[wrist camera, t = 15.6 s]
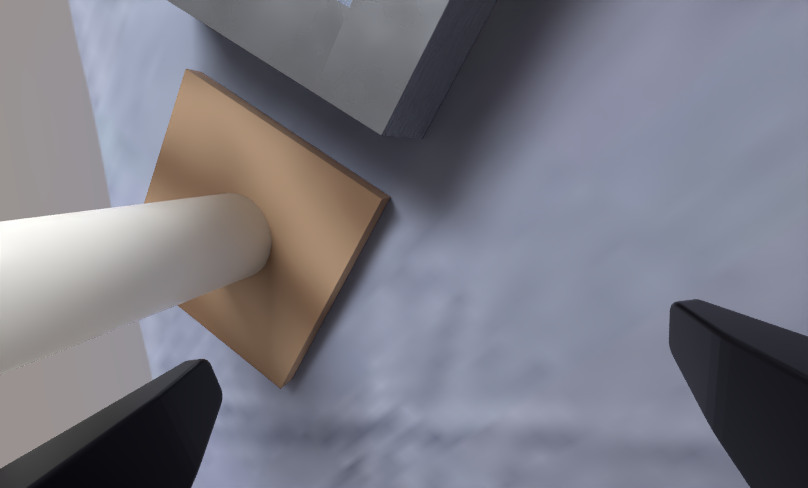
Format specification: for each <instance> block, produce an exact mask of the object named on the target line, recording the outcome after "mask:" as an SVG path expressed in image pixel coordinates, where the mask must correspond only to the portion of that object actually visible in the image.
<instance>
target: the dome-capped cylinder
mask: <svg viewBox="0 0 808 488" xmlns="http://www.w3.org/2000/svg"><path fill="white" fill-rule="evenodd" d="M270 251H271V233H270V229H269V225H268V223H267V220H266V218H265V216H264V214H263V213H262V211H261V210H260V209H259V207H258V206H257V205H256V204H255V203H254V202H253V201H251V200H250V199H249V198H247V197H245V196H243V195H240V194H236V193H225V194H217V195H209V196H201V197H193V198H185V199H177V200H169V201H161V202H153V203H145V204H137V205H129V206H121V207H113V208H106V209H98V210H90V211H82V212H74V213H66V214H58V215H50V216H43V217H34V218H26V219H19V220H10V221H2V222H0V375H1V374H4V373H6V372H9V371H11V370H14V369H17V368H19V367H22V366H24V365H27V364H29V363H32V362H34V361H37V360H39V359H42V358H44V357H47V356H49V355H52V354H55V353H57V352H60V351H62V350H65V349H67V348H70V347H72V346H75V345H77V344H80V343H82V342H85V341H87V340H90V339H92V338H95V337H98V336H100V335H103V334H105V333H108V332H110V331H113V330H115V329H118V328H120V327H123V326H125V325H128V324H131V323H133V322H135V321H138V320H141V319H143V318H146V317H148V316H151V315H153V314H156V313H158V312H161V311H163V310H166V309H168V308H171V307H174V306H176V305H179V304H181V303H184V302H186V301H189V300H191V299H194V298H196V297H199V296H201V295H204V294H206V293H209V292H211V291H214V290H217V289H219V288H222V287H224V286H227V285H229V284H232V283H234V282H237V281H239V280H242V279H244V278H247V277H249V276H252V275H254V274H256V273H258V272H259V271H260V270H261V269H262V268H263V267H264V265H265V264H266V262H267V260H268V258H269V255H270Z"/></svg>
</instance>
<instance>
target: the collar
mask: <svg viewBox="0 0 808 488" xmlns="http://www.w3.org/2000/svg"><path fill="white" fill-rule="evenodd" d="M168 1H169V2H171V3H172V4H174V5H175V6H177V7H179V8H180V9H182V10H183V11H185V12H187V13H188V14H190V15H191V16H193V17H194V18H196V19H198V20H199V21H201V22H202V23H204V24H206V25H207V26H209V27H210V28H212V29H213V30H215V31H217V32H218V33H220V34H221V35H223V36H225V37H226V38H228V39H229V40H231V41H232V42H234V43H236V44H237V45H239V46H240V47H242V48H244V49H245V50H247V51H248V52H250V53H251V54H253V55H255V56H256V57H258V58H259V59H261V60H263V61H264V62H266V63H267V64H269V65H271V66H272V67H274V68H275V69H277V70H278V71H280V72H282V73H283V74H285V75H286V76H288V77H290V78H291V79H293V80H294V81H296V82H297V83H299V84H301V85H302V86H304V87H305V88H307V89H309V90H310V91H312V92H313V93H315V94H316V95H318V96H320V97H321V98H323V99H324V100H326V101H328V102H329V103H331V104H332V105H334V106H335V107H337V108H339V109H340V110H342V111H343V112H345V113H347V114H348V115H350V116H351V117H353V118H354V119H356V120H358V121H359V122H361V123H362V124H364V125H366V126H367V127H369V128H370V129H372V130H374V131H375V132H377V133H378V134H380V135H382V136H395V137H407V138H420V139H422V138H423V136H424V134H425V132H426V130H427V129H428V127H429V125H430V123H431V121H432V119H433V118H434V116H435V114H436V112H437V110H438V108H439V106H440V105H441V103H442V101H443V99H444V97H445V95H446V94H447V92H448V90H449V88H450V86H451V84H452V82H453V81H454V79H455V77H456V75H457V73H458V71H459V70H460V68H461V66H462V64H463V62H464V60H465V58H466V57H467V55H468V53H469V51H470V49H471V47H472V46H473V44H474V42H475V40H476V38H477V36H478V34H479V33H480V31H481V29H482V27H483V25H484V23H485V22H486V20H487V18H488V16H489V14H490V12H491V10H492V9H493V7H494V5H495V3H496V1H497V0H353V1H352V3H351V6H350V8H349V7H347V6H345V5H343V4H342V3H340V2H338V1H336V0H168Z"/></svg>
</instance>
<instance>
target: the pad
mask: <svg viewBox="0 0 808 488" xmlns="http://www.w3.org/2000/svg"><path fill="white" fill-rule="evenodd" d="M225 193H236V194H240V195H243V196H245V197H247V198H249V199H250V200H251V201H253V202H254V203H255V204H256V205H257V206H258V207H259V209H260V210H261V211H262V213H263V214H264V216H265V218H266V220H267V223H268V225H269V229H270V233H271V251H270V255H269V258H268V260H267V262H266V264H265V265H264V267H263V268H262V269H261V270H260V271H259V272H258V273H256V274H254V275H252V276H249V277H247V278H244V279H242V280H239V281H237V282H234V283H232V284H229V285H227V286H224V287H222V288H219V289H217V290H214V291H211V292H209V293H206V294H204V295H201V296H199V297H196V298H194V299H191V300H189V301H186V302H184V303H181V304H179V305H178V306H179V307H180V308H182V309H183V310H184V311H185V312H187V313H188V314H189V315H190V316H192V317H193V318H194V319H195V320H196V321H198V322H199V323H200V324H201V325H203V326H204V327H205V328H206V329H208V330H209V331H210V332H211V333H213V334H214V335H215V336H216V337H217V338H219V339H220V340H221V341H222V342H224V343H225V344H226V345H227V346H229V347H230V348H231V349H232V350H233V351H235V352H236V353H237V354H238V355H240V356H241V357H242V358H243V359H245V360H246V361H247V362H248V363H249V364H251V365H252V366H253V367H254V368H256V369H257V370H258V371H259V372H261V373H262V374H263V375H264V376H265V377H267V378H268V379H269V380H270V381H272V382H273V383H274V384H275V385H277V386H278V387H279V388H280V389H281V388H282V387H283V386H285V385H286V384H287V383H288V382H289V381H291V380H292V378H293V376H294V374H295V372H296V371H297V369H298V367H299V365H300V363H301V361H302V359H303V358H304V356H305V354H306V352H307V350H308V348H309V347H310V345H311V343H312V341H313V339H314V337H315V335H316V334H317V332H318V330H319V328H320V326H321V324H322V323H323V321H324V319H325V317H326V315H327V313H328V311H329V310H330V308H331V306H332V304H333V302H334V300H335V299H336V297H337V295H338V293H339V291H340V289H341V287H342V286H343V284H344V282H345V280H346V278H347V276H348V275H349V273H350V271H351V269H352V267H353V265H354V263H355V262H356V260H357V258H358V256H359V254H360V252H361V251H362V249H363V247H364V245H365V243H366V241H367V239H368V238H369V236H370V234H371V232H372V230H373V228H374V227H375V225H376V223H377V221H378V219H379V217H380V215H381V214H382V212H383V210H384V208H385V206H386V204H387V203H388V201H389V199H390V196H388V195H387V194H385V193H384V192H382V191H381V190H379V189H378V188H376V187H375V186H373V185H372V184H370V183H369V182H367V181H366V180H364V179H362V178H361V177H359V176H358V175H356V174H355V173H353V172H352V171H350V170H349V169H347V168H346V167H344V166H343V165H341V164H340V163H338V162H337V161H335V160H334V159H332V158H331V157H329V156H328V155H326V154H325V153H323V152H322V151H320V150H319V149H317V148H316V147H314V146H313V145H311V144H310V143H308V142H307V141H305V140H303V139H302V138H300V137H299V136H297V135H296V134H294V133H293V132H291V131H290V130H288V129H287V128H285V127H284V126H282V125H281V124H279V123H278V122H276V121H275V120H273V119H272V118H270V117H269V116H267V115H266V114H264V113H263V112H261V111H260V110H258V109H257V108H255V107H254V106H252V105H251V104H249V103H248V102H246V101H244V100H243V99H241V98H240V97H238V96H237V95H235V94H234V93H232V92H231V91H229V90H228V89H226V88H225V87H223V86H222V85H220V84H219V83H217V82H216V81H214V80H213V79H211V78H210V77H208V76H207V75H205V74H204V73H202V72H199V71H194V70H189V69H186V70H185V73H184V76H183V80H182V83H181V86H180V89H179V92H178V96H177V99H176V102H175V105H174V109H173V112H172V115H171V118H170V122H169V125H168V128H167V131H166V134H165V138H164V141H163V144H162V147H161V151H160V154H159V157H158V160H157V163H156V167H155V170H154V173H153V176H152V180H151V183H150V186H149V189H148V193H147V196H146V199H145V202H144V204H145V203H153V202H161V201H169V200H177V199H185V198H193V197H201V196H209V195H217V194H225Z"/></svg>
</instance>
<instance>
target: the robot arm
mask: <svg viewBox="0 0 808 488" xmlns="http://www.w3.org/2000/svg"><path fill="white" fill-rule="evenodd" d="M669 346H670V350H671V353H672V355H673V357H674V359H675V361H676V363H677V365H678V367H679V369H680V370H681V372H682V374H683V376H684V378H685V380H686V382H687V384H688V386H689V388H690V389H691V391H692V393H693V395H694V397H695V399H696V401H697V403H698V405H699V407H700V409H701V410H702V412H703V414H704V416H705V418H706V420H707V422H708V423H709V425H710V427H711V429H712V430H713V432H714V434H715V435H716V437H717V438H718V440H719V441H720V443H721V445H722V446H723V448H724V449H725V451H726V452H727V454H728V455H729V456H730V458H731V459H732V461H733V462H734V464H735V465H736V467H737V468H738V470H739V471H740V473H741V474H742V476H743V477H744V479H745V480H746V482H747V483H748V485H749V486H750V488H808V336H805V335H802V334H799V333H796V332H793V331H790V330H787V329H784V328H781V327H778V326H775V325H773V324H770V323H767V322H764V321H761V320H758V319H755V318H752V317H749V316H746V315H743V314H740V313H737V312H734V311H731V310H728V309H726V308H723V307H720V306H717V305H714V304H711V303H708V302H705V301H702V300H699V299H693V300H685V301H677V302H674V303H673V304H672V305H671V308H670V322H669ZM221 403H222V390H221V387H220V385H219V383H218V380H217V378H216V376H215V373H214V371H213V369H212V366H211V364H210V363H209V362H208V361H207V360H205V359H198V360H189V361H185V362H183V363H182V364H180V365H178V366H176V367H175V368H173V369H171V370H170V371H168V372H166V373H164V374H163V375H161V376H159V377H158V378H156V379H154V380H152V381H151V382H149V383H147V384H145V385H144V386H142V387H140V388H139V389H137V390H135V391H134V392H132V393H130V394H128V395H127V396H125V397H123V398H121V399H120V400H118V401H116V402H115V403H113V404H111V405H109V406H108V407H106V408H104V409H102V410H101V411H99V412H97V413H96V414H94V415H92V416H90V417H89V418H87V419H85V420H83V421H82V422H80V423H78V424H77V425H75V426H73V427H71V428H70V429H68V430H66V431H64V432H63V433H61V434H59V435H58V436H56V437H54V438H52V439H51V440H49V441H47V442H46V443H44V444H42V445H40V446H39V447H37V448H35V449H33V450H32V451H30V452H28V453H27V454H25V455H23V456H21V457H20V458H18V459H16V460H15V461H13V462H11V463H9V464H8V465H6V466H4V467H3V468H1V469H0V488H191V487H192V485H193V482H194V480H195V477H196V475H197V473H198V470H199V467H200V464H201V462H202V459H203V456H204V453H205V450H206V447H207V444H208V441H209V438H210V435H211V432H212V429H213V426H214V424H215V421H216V418H217V415H218V412H219V409H220V406H221Z"/></svg>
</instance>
